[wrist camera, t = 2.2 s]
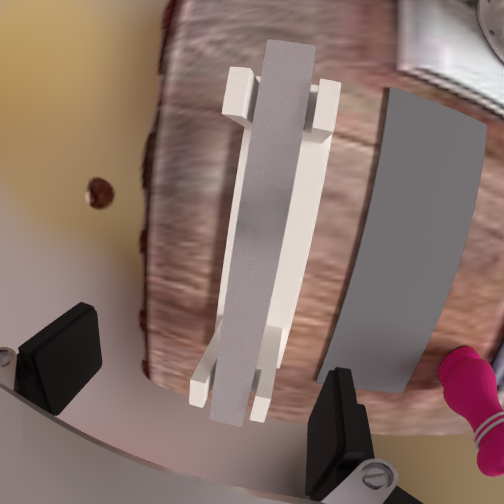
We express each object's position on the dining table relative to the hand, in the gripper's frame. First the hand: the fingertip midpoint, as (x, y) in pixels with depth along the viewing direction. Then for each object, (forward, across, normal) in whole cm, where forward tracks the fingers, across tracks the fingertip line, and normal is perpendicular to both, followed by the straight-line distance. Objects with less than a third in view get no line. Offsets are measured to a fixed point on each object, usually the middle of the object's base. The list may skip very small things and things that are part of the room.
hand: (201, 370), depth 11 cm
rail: (+12, 0, 0) cm, 12 cm away
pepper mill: (+21, -28, +11) cm, 37 cm away
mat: (+21, -16, -1) cm, 26 cm away
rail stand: (+21, 0, -1) cm, 21 cm away
